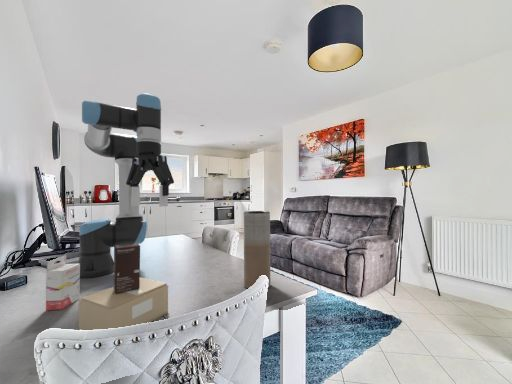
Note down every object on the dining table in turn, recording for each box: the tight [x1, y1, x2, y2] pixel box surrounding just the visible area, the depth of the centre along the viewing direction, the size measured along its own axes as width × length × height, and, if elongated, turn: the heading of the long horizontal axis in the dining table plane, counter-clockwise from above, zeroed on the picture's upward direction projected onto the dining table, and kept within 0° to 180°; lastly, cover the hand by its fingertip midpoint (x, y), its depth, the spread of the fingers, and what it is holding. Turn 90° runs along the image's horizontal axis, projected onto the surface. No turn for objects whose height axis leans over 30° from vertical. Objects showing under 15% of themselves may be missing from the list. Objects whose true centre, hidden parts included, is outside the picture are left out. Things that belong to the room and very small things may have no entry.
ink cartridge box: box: [45, 255, 81, 311], centre depth 78 cm, size 9×5×15 cm, turn 5°
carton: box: [78, 285, 169, 330], centre depth 66 cm, size 13×17×8 cm
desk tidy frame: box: [38, 251, 80, 267], centre depth 127 cm, size 20×20×2 cm
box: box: [113, 243, 141, 294], centre depth 67 cm, size 6×4×12 cm
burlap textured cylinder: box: [243, 210, 271, 289], centre depth 92 cm, size 10×10×28 cm
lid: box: [80, 276, 168, 310], centre depth 66 cm, size 11×17×1 cm
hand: (149, 206), depth 82 cm, fingers open, 13 cm apart
